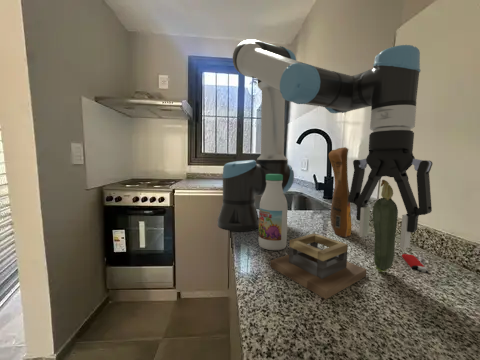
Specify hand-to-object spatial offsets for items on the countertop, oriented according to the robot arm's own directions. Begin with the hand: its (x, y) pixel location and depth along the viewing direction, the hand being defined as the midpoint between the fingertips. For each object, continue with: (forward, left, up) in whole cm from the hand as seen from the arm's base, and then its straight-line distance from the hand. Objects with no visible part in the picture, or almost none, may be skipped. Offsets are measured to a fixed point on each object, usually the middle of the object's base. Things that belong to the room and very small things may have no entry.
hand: (382, 240), depth 48 cm
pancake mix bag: (-22, +20, -7) cm, 31 cm away
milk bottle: (-24, -9, -7) cm, 27 cm away
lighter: (+3, +11, -8) cm, 14 cm away
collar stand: (-8, -11, -7) cm, 15 cm away
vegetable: (0, 0, -7) cm, 7 cm away
